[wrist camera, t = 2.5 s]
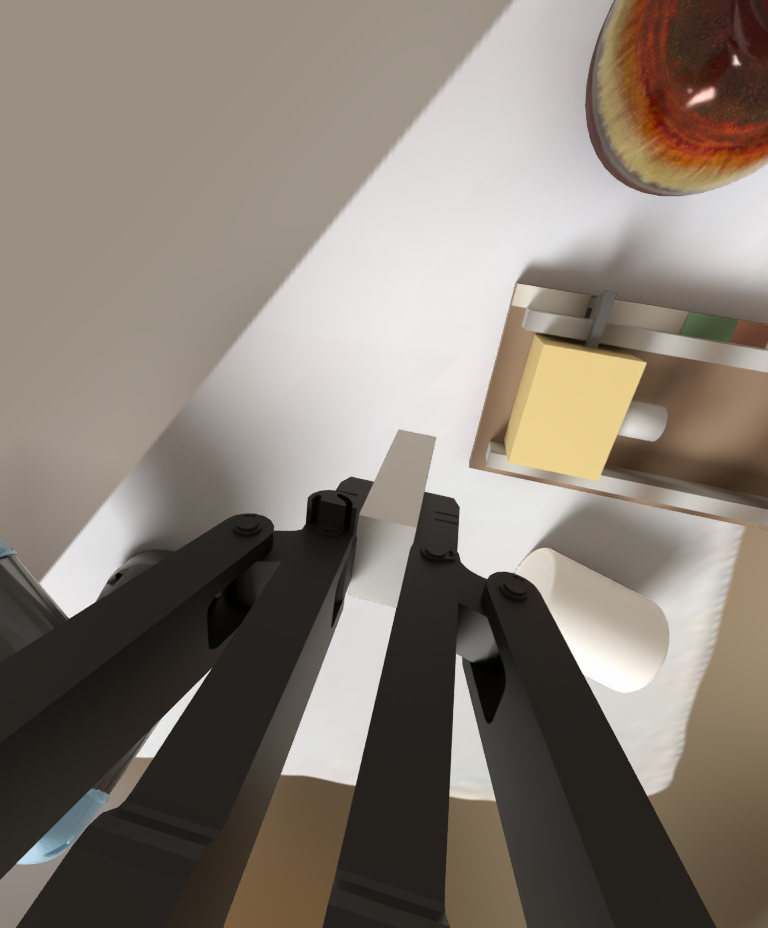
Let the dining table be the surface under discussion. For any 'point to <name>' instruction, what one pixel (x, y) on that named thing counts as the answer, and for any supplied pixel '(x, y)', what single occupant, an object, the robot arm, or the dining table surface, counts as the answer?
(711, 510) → the bench
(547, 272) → the dining table surface
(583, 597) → the mug
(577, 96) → the dining table surface
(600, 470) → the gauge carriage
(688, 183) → the vase
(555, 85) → the dining table surface
